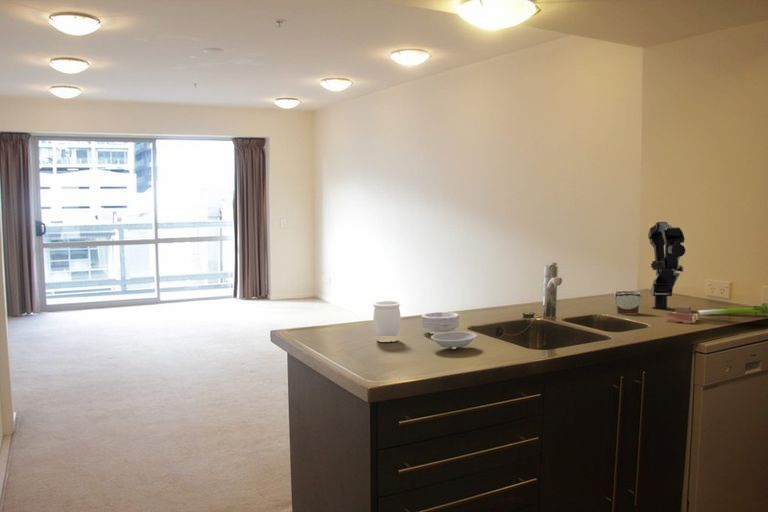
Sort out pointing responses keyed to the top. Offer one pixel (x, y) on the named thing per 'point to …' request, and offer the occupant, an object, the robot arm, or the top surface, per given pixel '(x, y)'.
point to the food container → (627, 302)
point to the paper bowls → (440, 321)
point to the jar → (387, 318)
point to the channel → (681, 317)
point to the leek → (737, 310)
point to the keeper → (683, 309)
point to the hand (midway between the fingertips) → (671, 288)
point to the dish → (453, 339)
